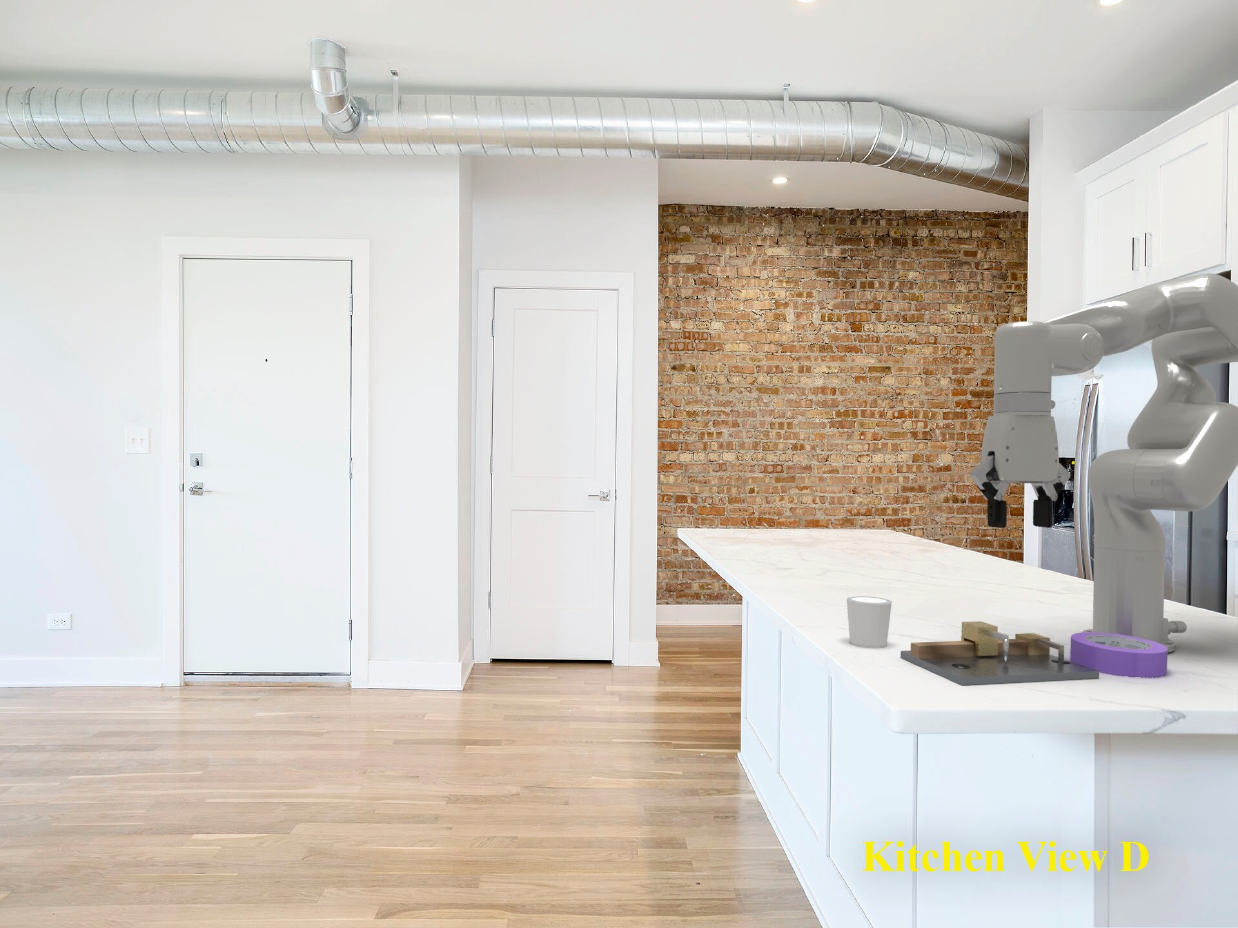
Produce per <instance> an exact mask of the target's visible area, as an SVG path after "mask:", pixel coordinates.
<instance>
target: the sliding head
mask: <svg viewBox="0 0 1238 928" xmlns="http://www.w3.org/2000/svg"><path fill="white" fill-rule="evenodd" d="M997 639H998V640H1001V641H1003V661H1009V639H1010V637H1009V635H1008V634H1005V633H1002V632H999V627H998V625H995V624H991V623H988V622H985V621H981V620H980V621H979V620H977V621H961V636H960V641H971V640H972V641H975V642H976V648H975V655H977V656H988V655H998V641H997Z"/></svg>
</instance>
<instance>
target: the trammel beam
mask: <svg viewBox="0 0 1238 928" xmlns="http://www.w3.org/2000/svg"><path fill="white" fill-rule="evenodd" d="M1014 636H1015V638H1009V655H1019V654H1029V655H1046V654H1049V655H1051V654H1050V653H1051V651H1050V650H1051V648H1052V649H1055V650H1057V657H1058V660H1059V661H1064V659H1065V646H1064V645H1063V644H1060V643H1057V642H1055V641H1054V642H1053V641H1051V637H1048V636H1044V635H1041V634H1038V633H1034V632H1030V633H1029V632H1028V633H1025V632H1023V633H1015V635H1014ZM997 641H998V655H1003V641H1001V640H998V639H997ZM975 648H976V642H975V641H972V640H971V641H961V640H948V641H947V640H946V641H944V640H943V641H923V642H922V641H920V642H910V650H911V656H914V657H916V658H918V659H925V658H948V657H972V656H977V655H975ZM988 656H995V655H988Z"/></svg>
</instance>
